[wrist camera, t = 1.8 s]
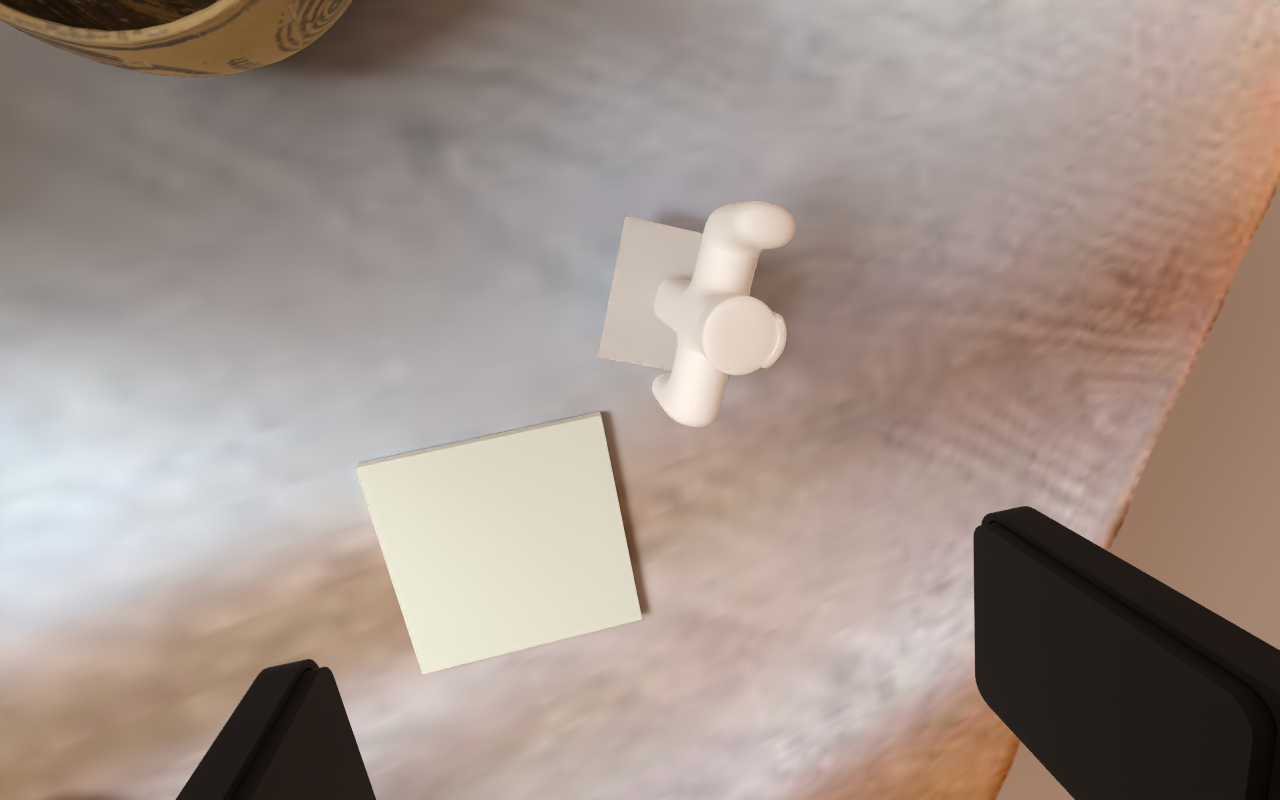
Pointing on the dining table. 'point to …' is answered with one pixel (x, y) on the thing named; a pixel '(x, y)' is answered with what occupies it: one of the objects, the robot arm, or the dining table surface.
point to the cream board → (503, 540)
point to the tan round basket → (177, 31)
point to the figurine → (695, 305)
